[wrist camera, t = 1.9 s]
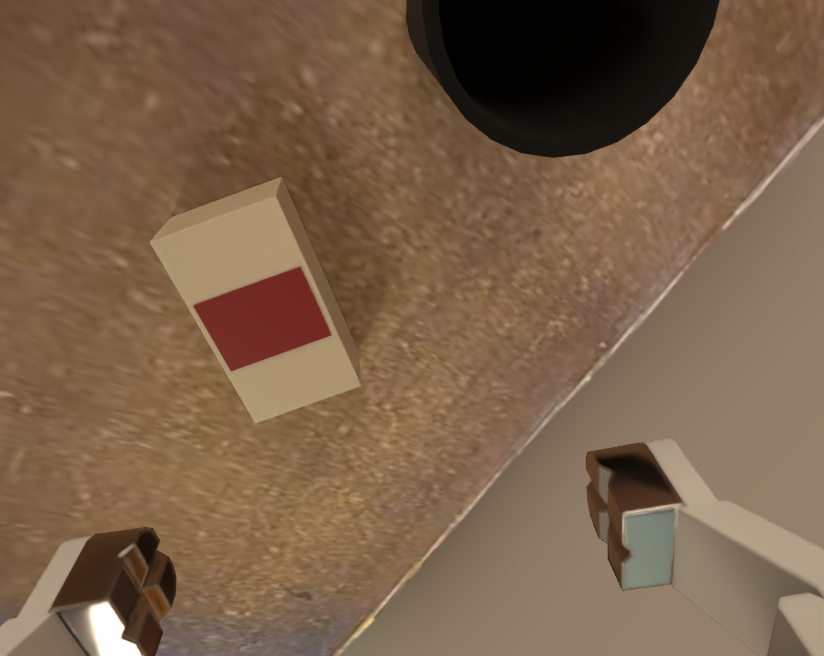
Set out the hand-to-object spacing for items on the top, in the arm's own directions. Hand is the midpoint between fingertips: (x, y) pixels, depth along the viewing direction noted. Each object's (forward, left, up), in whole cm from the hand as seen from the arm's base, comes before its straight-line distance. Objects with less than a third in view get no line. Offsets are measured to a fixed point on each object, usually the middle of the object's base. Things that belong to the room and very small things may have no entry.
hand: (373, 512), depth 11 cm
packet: (-4, +3, -20) cm, 20 cm away
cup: (+10, -4, -20) cm, 22 cm away
